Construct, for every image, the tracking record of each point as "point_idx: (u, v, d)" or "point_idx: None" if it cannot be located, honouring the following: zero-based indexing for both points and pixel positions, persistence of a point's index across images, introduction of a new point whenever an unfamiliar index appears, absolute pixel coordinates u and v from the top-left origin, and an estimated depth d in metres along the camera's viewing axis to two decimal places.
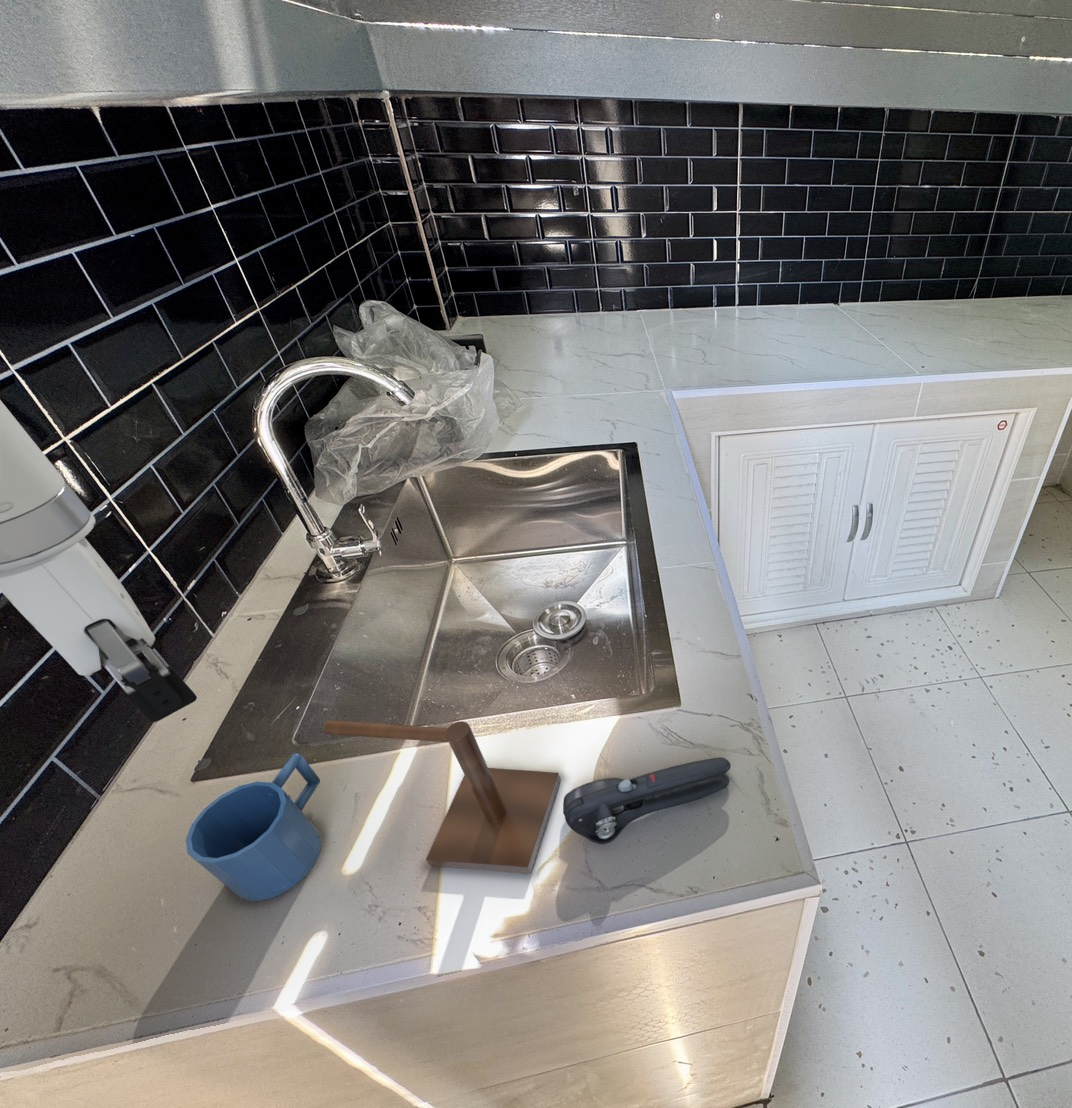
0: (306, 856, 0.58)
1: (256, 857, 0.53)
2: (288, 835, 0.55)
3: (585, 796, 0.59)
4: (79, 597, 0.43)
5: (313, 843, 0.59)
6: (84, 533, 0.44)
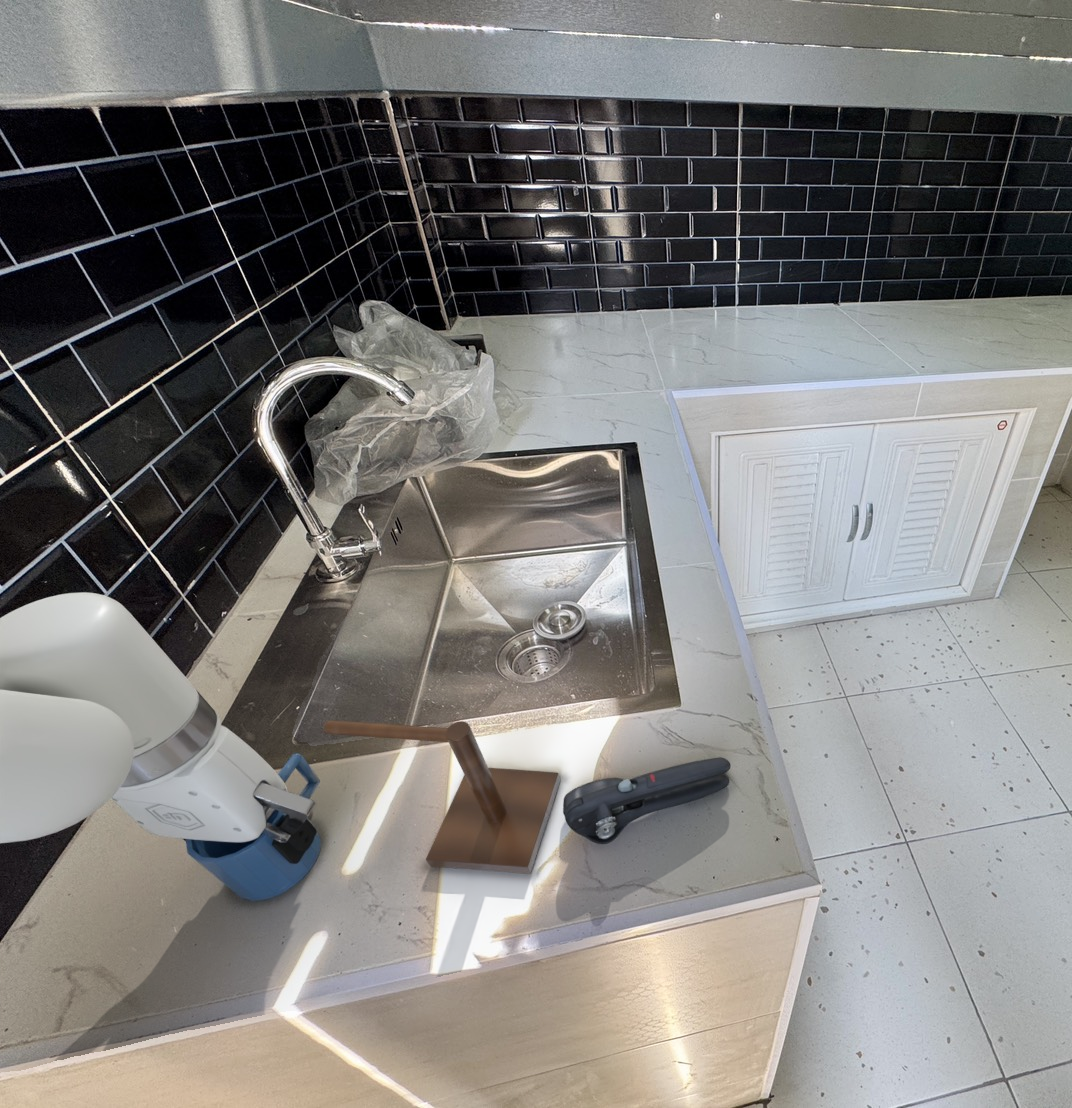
0: (306, 856, 0.58)
1: (256, 857, 0.53)
2: None
3: (585, 796, 0.59)
4: (245, 767, 0.49)
5: (313, 843, 0.59)
6: (218, 716, 0.49)
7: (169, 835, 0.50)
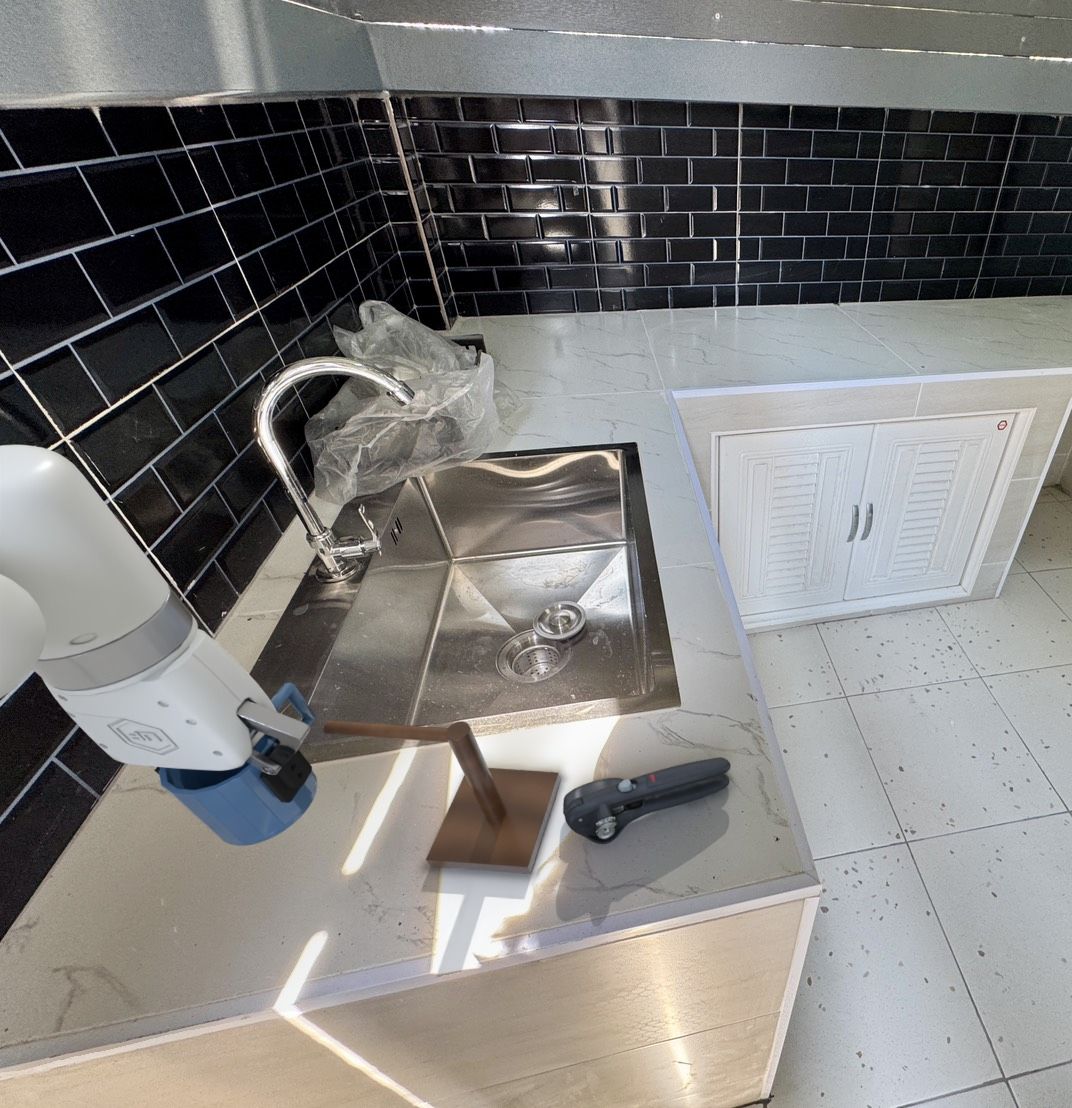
0: (301, 796, 0.50)
1: (242, 791, 0.46)
2: None
3: (585, 796, 0.59)
4: (226, 679, 0.41)
5: (308, 782, 0.51)
6: (194, 619, 0.41)
7: (138, 762, 0.43)
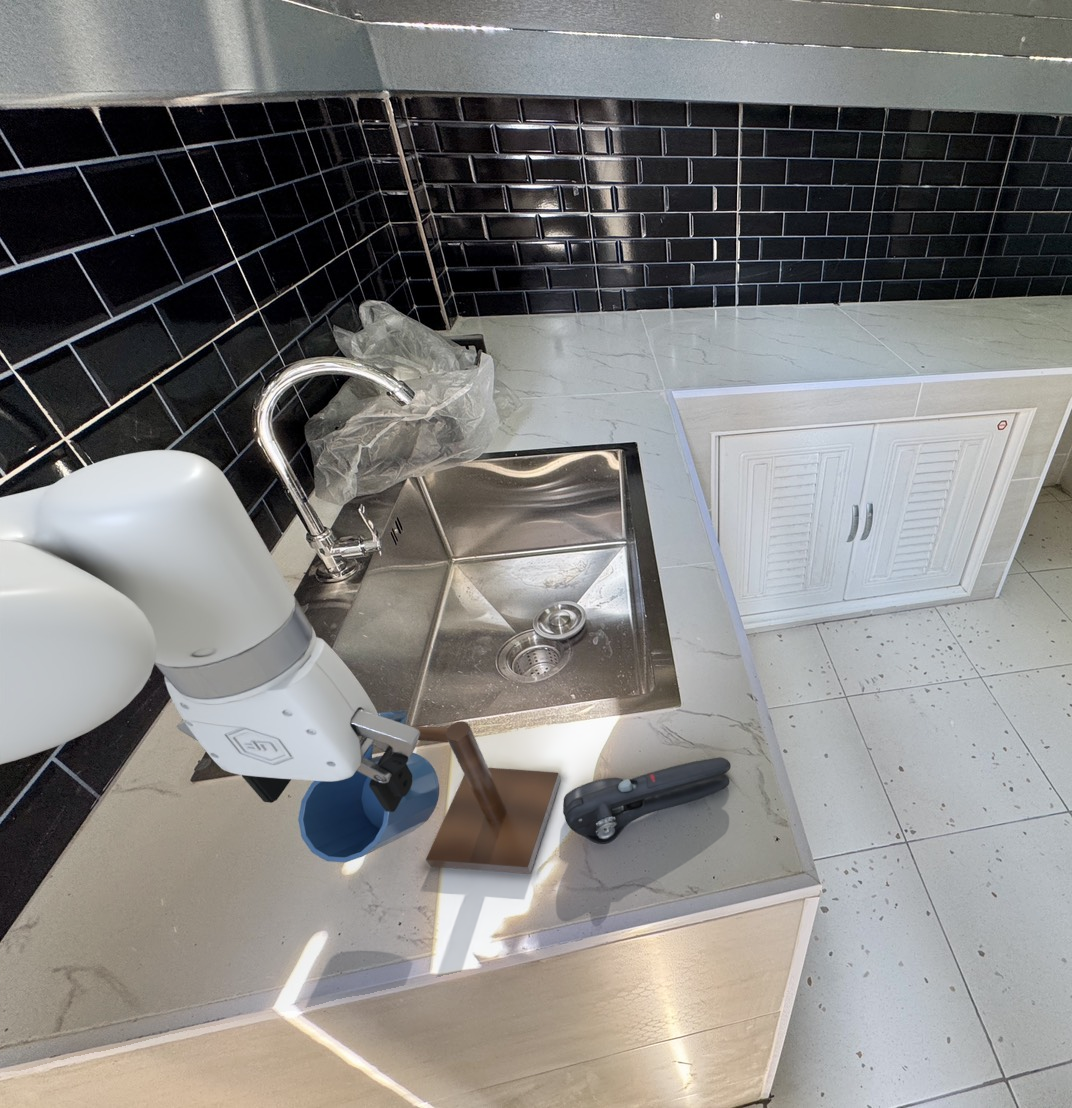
0: (429, 800, 0.55)
1: (383, 842, 0.50)
2: (404, 810, 0.51)
3: (585, 796, 0.59)
4: (343, 689, 0.41)
5: (430, 784, 0.55)
6: (312, 627, 0.41)
7: (246, 772, 0.42)
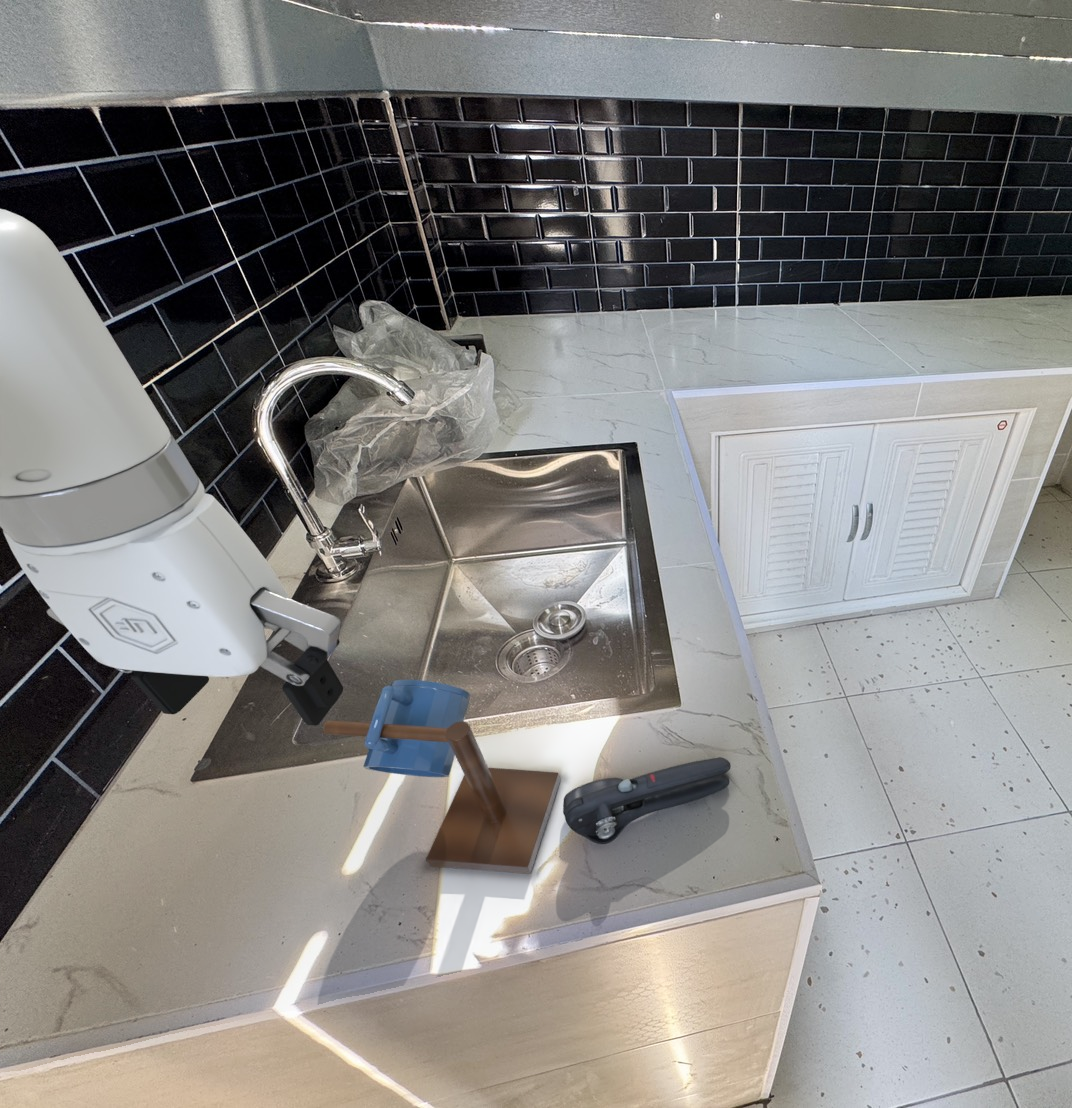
0: (463, 707, 0.60)
1: None
2: None
3: (585, 796, 0.59)
4: (238, 558, 0.33)
5: (456, 703, 0.59)
6: (201, 483, 0.33)
7: (127, 666, 0.35)
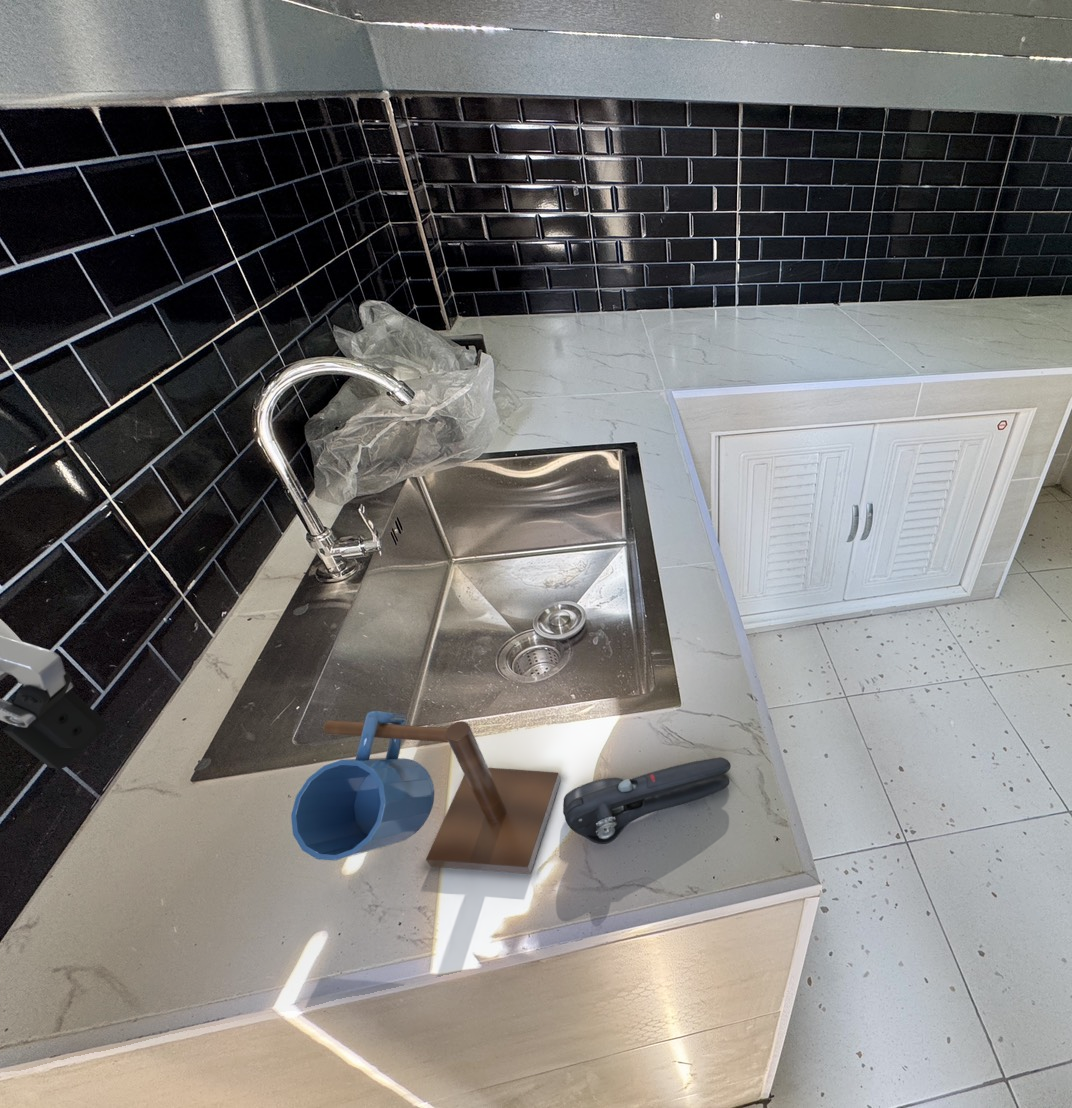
0: (424, 806, 0.54)
1: (375, 842, 0.49)
2: (399, 809, 0.50)
3: (585, 796, 0.59)
4: None
5: (425, 789, 0.54)
6: None
7: None
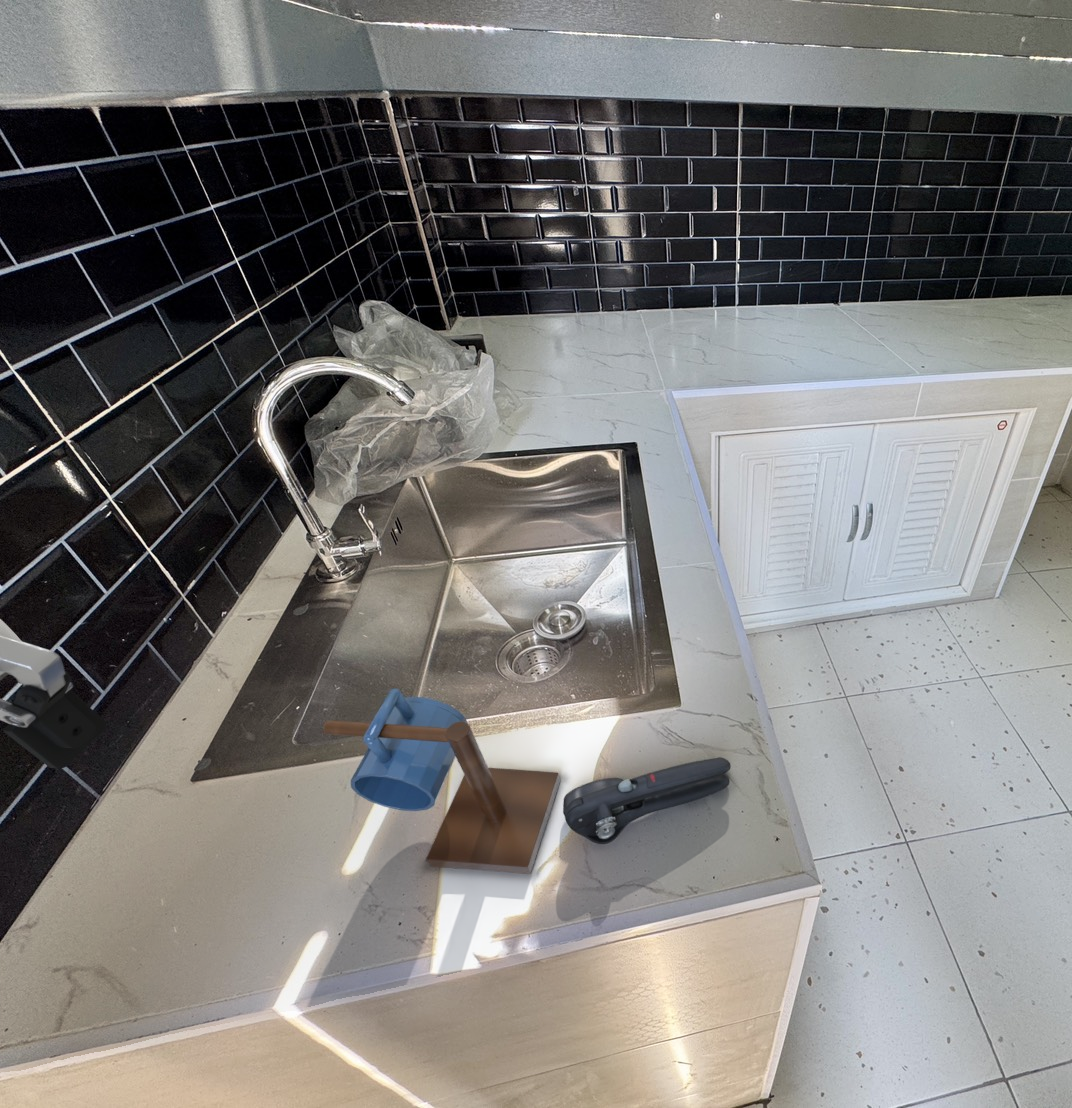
0: None
1: None
2: (443, 772, 0.57)
3: (585, 796, 0.59)
4: None
5: None
6: None
7: None
